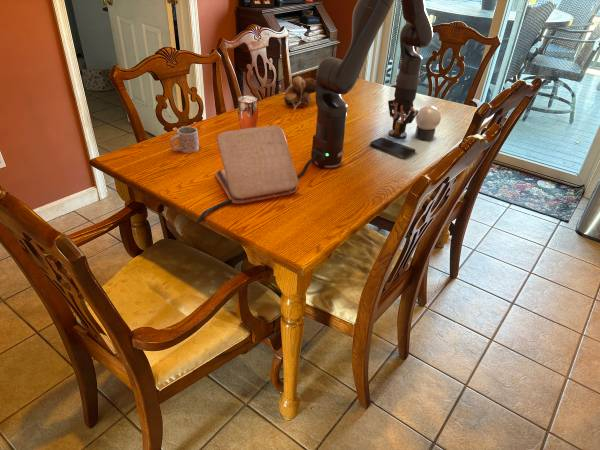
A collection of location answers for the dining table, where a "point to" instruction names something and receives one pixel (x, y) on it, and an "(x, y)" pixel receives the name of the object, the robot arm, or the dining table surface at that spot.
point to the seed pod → (300, 92)
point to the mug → (186, 140)
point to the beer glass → (247, 111)
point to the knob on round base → (397, 132)
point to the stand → (424, 134)
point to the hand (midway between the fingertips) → (398, 131)
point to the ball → (428, 118)
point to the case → (256, 164)
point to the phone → (393, 148)
